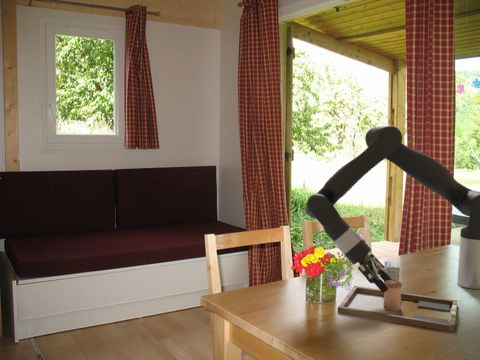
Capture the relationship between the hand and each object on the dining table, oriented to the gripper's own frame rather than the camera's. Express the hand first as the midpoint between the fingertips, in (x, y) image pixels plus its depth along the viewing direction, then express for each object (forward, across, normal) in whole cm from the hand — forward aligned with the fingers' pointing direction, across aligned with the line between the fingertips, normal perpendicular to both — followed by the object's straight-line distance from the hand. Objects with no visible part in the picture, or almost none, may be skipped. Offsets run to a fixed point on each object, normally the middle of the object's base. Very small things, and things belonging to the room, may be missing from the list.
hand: (388, 286), depth 156 cm
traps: (+14, 0, -5) cm, 14 cm away
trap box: (+7, 0, +2) cm, 7 cm away
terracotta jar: (+6, 0, +4) cm, 7 cm away
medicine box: (+4, +19, +6) cm, 20 cm away
